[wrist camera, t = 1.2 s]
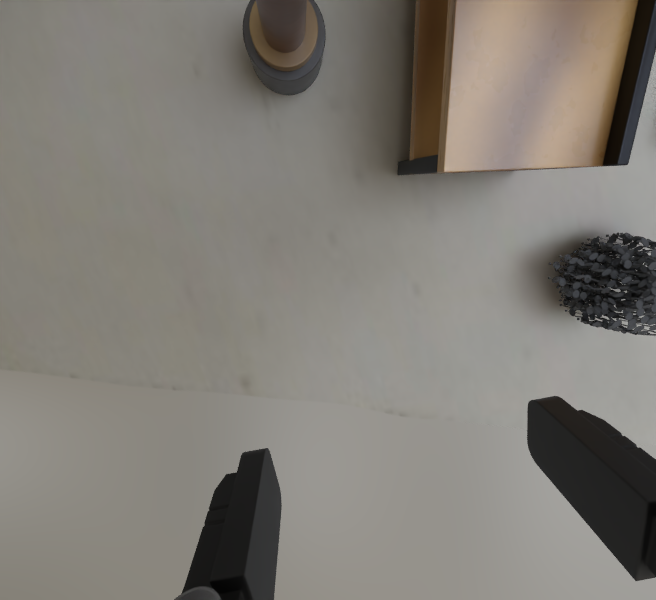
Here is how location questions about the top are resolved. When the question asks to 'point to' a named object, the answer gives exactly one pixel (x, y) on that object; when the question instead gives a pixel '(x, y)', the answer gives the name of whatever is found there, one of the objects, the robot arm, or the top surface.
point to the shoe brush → (284, 42)
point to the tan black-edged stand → (527, 83)
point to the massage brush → (612, 283)
